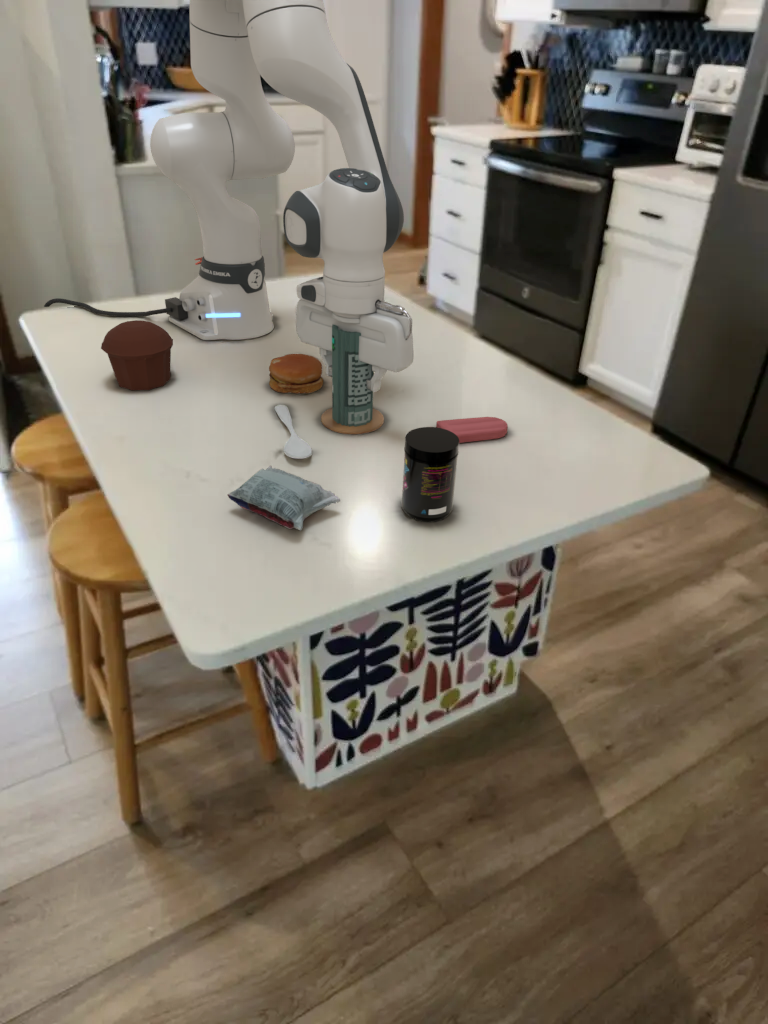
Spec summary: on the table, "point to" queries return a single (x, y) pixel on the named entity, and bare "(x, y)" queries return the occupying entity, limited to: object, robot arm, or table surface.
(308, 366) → the burger
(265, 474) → the packaged food
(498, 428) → the popsicle
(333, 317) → the robot arm
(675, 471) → the table surface
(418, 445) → the supplement container
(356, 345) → the can
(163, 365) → the muffin
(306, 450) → the spoon
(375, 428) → the cork coaster
